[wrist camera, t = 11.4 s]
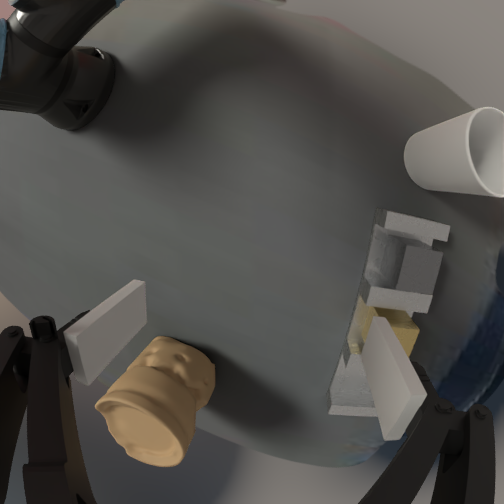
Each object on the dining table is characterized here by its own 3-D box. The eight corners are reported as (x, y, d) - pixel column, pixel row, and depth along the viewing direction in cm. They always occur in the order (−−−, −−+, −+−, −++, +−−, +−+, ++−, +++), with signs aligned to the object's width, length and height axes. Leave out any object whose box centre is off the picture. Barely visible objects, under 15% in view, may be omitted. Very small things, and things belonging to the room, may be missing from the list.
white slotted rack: (375, 207, 34) (395, 213, 27) (433, 220, 33) (462, 229, 26) (326, 393, 42) (328, 427, 34) (375, 397, 41) (384, 429, 33)
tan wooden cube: (371, 302, 36) (384, 326, 30) (402, 307, 36) (419, 329, 29) (361, 334, 38) (371, 361, 31) (392, 337, 37) (405, 364, 30)
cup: (403, 187, 33) (467, 192, 18) (402, 127, 31) (461, 96, 16) (453, 192, 32) (526, 202, 17) (451, 135, 30) (522, 118, 15)
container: (169, 393, 47) (127, 462, 30) (138, 335, 45) (77, 397, 27) (231, 386, 44) (201, 469, 27) (202, 322, 42) (150, 398, 25)
